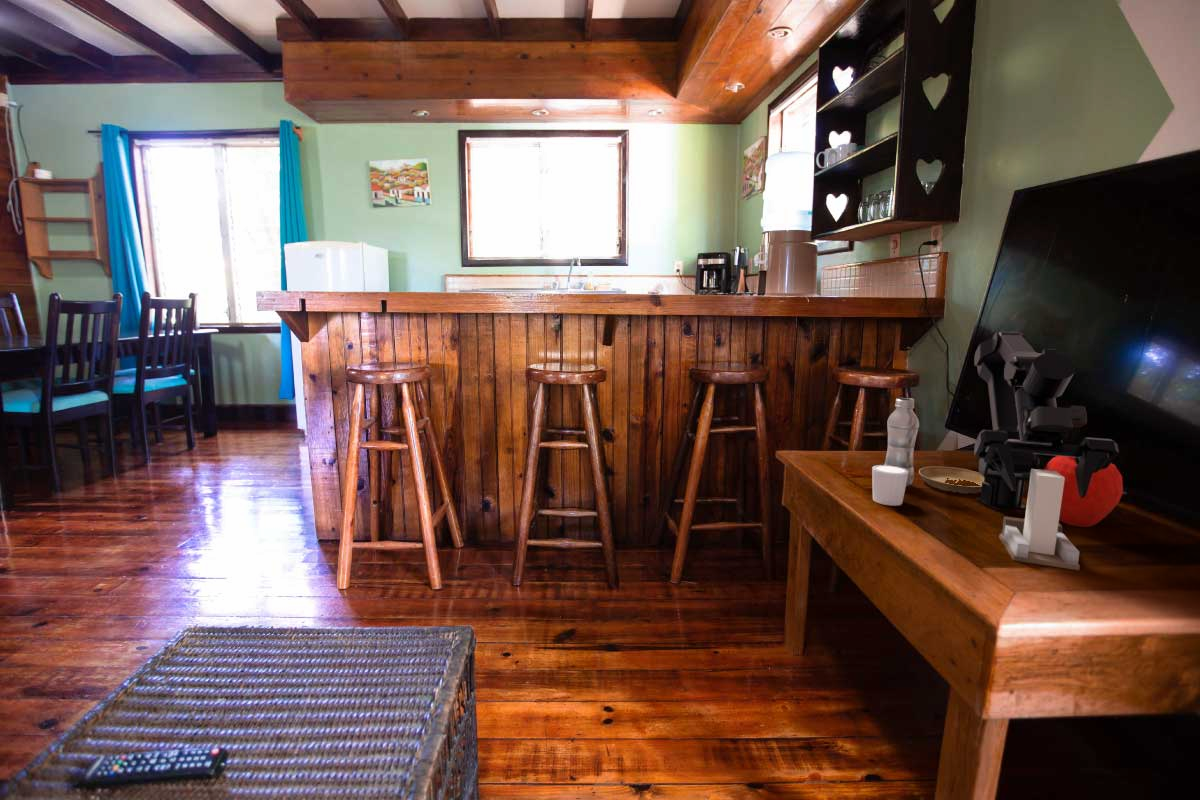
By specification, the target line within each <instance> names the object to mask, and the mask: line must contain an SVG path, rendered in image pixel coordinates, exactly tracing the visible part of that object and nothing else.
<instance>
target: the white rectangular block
mask: <svg viewBox="0 0 1200 800" xmlns="http://www.w3.org/2000/svg"><path fill="white" fill-rule="evenodd" d="M1064 480H1065V478H1064V477H1063V476H1062V475H1060V474H1059V473H1058V472H1057V471H1050V470H1044V469H1038V468H1037V469H1031V475H1030V481H1029V484H1028V492H1027V498H1026V499H1027V501H1026V505H1025V506H1026V510H1025V516H1024V519H1025V522H1024V529H1023V537H1024V538H1025V540H1026V541H1027V543H1028V544H1029V550H1028V551H1029V552H1036V553H1042V554H1049V555H1054V552H1055V545H1056V538H1057V530H1058V523H1059V522H1060V520H1059V516H1060V509H1061V502H1062V494H1063V487H1064Z"/></svg>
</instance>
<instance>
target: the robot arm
mask: <svg viewBox="0 0 1200 800" xmlns="http://www.w3.org/2000/svg"><path fill="white" fill-rule="evenodd" d="M973 359H974V360H973V361H974V362H973V363H974V366H975V367H977V373H978V376H979V377H980V378H981V379H982V380H984V381H985V382H986V383H987V385H988V387H987V388H988V395H989V396H988V397H989V404H990V414H991V422H992V429H982V430H981V431H980V432H979V433H978V435H977V438H976V440H975V443H974V448H973V449H974V450H973V451H974V458H976V459H979V461H978V473H981V475H982V476H983V477H984V482H982V488H981V492H980V496H979V497H976V498H975V499H976V501H978V502H980V503H982V504H983V505H986V506H988V507H991V508H992V509H994V510H996V511H1026V506H1027V505H1025V504H1022V503H1023V496H1024V490H1025V482H1030V475H1031V469H1038V466H1039V464H1040V461H1041V460H1040V459H1039V456H1038V455H1045V456H1055V457H1056V456H1066V457H1075V462H1076V464H1077V466H1076V468H1075V474H1076V480H1077V487H1078V492H1079V495H1080V498H1083V499H1084V498H1085V496H1086V494H1087V491H1088V487H1089V484H1090V481H1091V477H1092V474H1093V473H1096V472H1098V471H1099V470H1102V469H1106V468H1107V467H1108V466H1109V465H1110V464H1111V463H1113V462H1114V460H1115V459H1116V458H1117V456H1118V455H1119V454H1120V451H1119V447H1118V446H1119V445H1118V443H1116V441H1115V440H1113V439H1110V438H1101V437H1098V438H1097V437H1087V436H1086V437H1084V438H1083V440H1082V441H1081V442H1080V444H1069V443H1063V440H1067V439H1068V437H1069V432H1068V431H1069V430H1072V429H1073V428H1082V427H1083V426H1086V425H1087V422H1088V414H1087V410H1086V407H1085V406H1083V405H1071V406H1070V407H1058V406H1057V400H1056V399H1057V398H1059V397H1061V396H1062V395H1063V393H1064V392H1065V390H1066V388H1067V386H1068V384H1069V383H1070V381H1071V379H1072V378H1073V376H1074V375H1075V373H1076V370H1077V366H1076V364H1075V363H1074V362H1073V361H1072V359H1070V358H1068V357H1067V356H1065V355H1062V354H1060V353H1059V349H1057V348H1056V349H1054V348H1053V349H1052V348H1048V349H1047V348H1044V349H1043V350H1042V352H1041V353H1040V352H1036V351H1035V350H1034V349H1033V347H1032V346H1031V344H1029V342H1027V340H1026V336H1025V333H1024V332H1020V331H999V332H995V333H994V334H993V337H990V338H989V339H987V340H984V341H982V342H980V343H979V344H978V347H977V349H976V350H975V353H974V358H973ZM1015 387H1020V388H1018V389H1017V390H1015Z"/></svg>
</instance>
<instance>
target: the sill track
mask: <svg viewBox="0 0 1200 800" xmlns="http://www.w3.org/2000/svg"><path fill="white" fill-rule="evenodd" d="M1024 522H1025V518H1019V517H1013V516H1012V517H1010V516H1003V521H1002V530H1001V533H999V536H998V538H999V540H1000V542H1001V543H1002V544H1003V546H1004V547H1005V549H1006V551H1007V552H1008V554H1009V556H1010V557H1011V559H1012V560H1013V561H1015V562H1021V563H1027V564H1036V565H1042V566H1048V567H1054V568H1055V567H1056V568H1063V569H1068V570H1073V571H1080V567H1081V565H1080V564H1079V559H1080V551H1079V549H1078V548H1076V546H1075V545H1074V544H1073V543H1072V542H1071V541H1070V540H1069V539H1068V537H1067V536H1066V534H1064V533H1063V526H1062V525H1061V523H1058V530H1057V538H1056V545H1055V552H1054V555H1049V554H1042V553H1036V552H1029V551H1028V550H1029V544H1028V543H1027V541H1026V540H1025V538H1024V537H1023V529H1024Z"/></svg>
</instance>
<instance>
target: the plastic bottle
mask: <svg viewBox="0 0 1200 800" xmlns="http://www.w3.org/2000/svg"><path fill="white" fill-rule="evenodd" d="M894 407H895V410H894V411H893V412H892V413H890V415H889V416H888V419H887V422H886V425H887V450H886V456H885V460H884V464H883V465H890V466H897V467H901V468H904V469H906V470H908V471H909V473H908V478H907V483H906V487H909V486H911V484H912V483H913V482H914V478H915V469H914V452H915V451H914V450H915V443H916V439H917V435H918V432H919V428H920V422H919V421H920V420H919V418H918V416H917V414H916V413H915V412H914V410H913V409H915V399H914V398H909V397H897V398H896V399H895V404H894Z"/></svg>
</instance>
